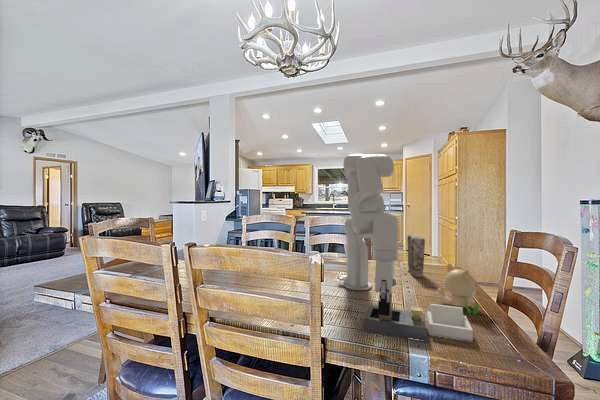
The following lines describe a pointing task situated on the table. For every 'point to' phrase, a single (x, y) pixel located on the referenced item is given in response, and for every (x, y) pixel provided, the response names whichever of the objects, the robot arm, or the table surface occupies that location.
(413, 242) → the stone block
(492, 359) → the table surface
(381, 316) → the handle
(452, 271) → the cream toy figurine
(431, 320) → the white square bin
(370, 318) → the socket block
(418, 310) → the brass key
